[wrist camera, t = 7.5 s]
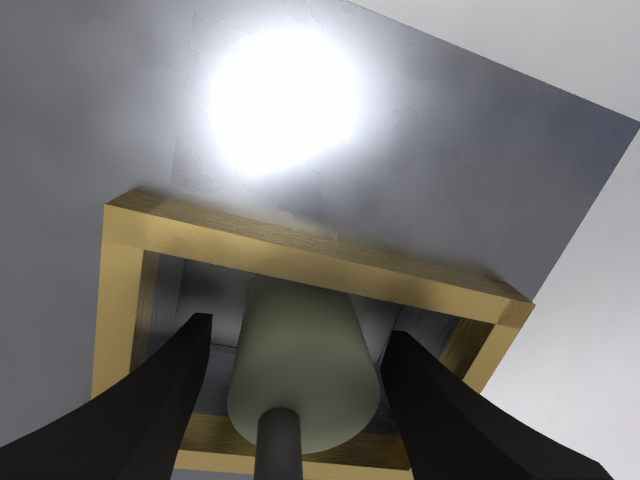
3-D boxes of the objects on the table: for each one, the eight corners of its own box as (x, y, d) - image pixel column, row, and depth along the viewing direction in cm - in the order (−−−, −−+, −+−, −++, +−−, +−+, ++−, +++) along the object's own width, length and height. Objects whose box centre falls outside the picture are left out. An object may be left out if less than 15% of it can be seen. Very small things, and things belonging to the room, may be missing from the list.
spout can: (366, 300, 16) (435, 457, 9) (295, 356, 17) (305, 540, 10) (300, 234, 15) (317, 363, 7) (225, 301, 16) (172, 475, 8)
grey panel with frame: (546, 119, 14) (699, 125, 9) (370, 458, 21) (397, 568, 16) (-111, -135, 9) (-617, -447, 4) (-41, 418, 16) (-185, 555, 11)
